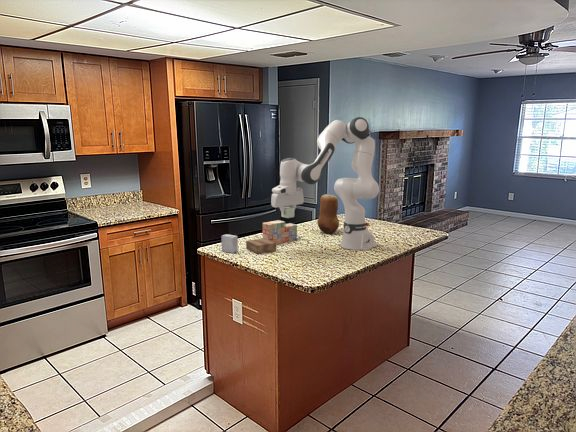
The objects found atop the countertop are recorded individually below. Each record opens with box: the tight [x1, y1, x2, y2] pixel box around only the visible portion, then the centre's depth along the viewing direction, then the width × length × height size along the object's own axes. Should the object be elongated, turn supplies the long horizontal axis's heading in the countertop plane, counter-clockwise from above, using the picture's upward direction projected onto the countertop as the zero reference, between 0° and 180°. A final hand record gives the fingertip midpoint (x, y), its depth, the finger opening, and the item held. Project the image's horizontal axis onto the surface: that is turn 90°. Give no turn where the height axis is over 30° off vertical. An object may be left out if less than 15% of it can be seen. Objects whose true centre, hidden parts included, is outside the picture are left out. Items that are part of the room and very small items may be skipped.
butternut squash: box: [317, 193, 340, 235], centre depth 270 cm, size 14×13×25 cm
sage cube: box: [280, 206, 295, 219], centre depth 228 cm, size 5×5×5 cm
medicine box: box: [220, 234, 239, 254], centre depth 227 cm, size 8×4×9 cm, turn 59°
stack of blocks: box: [261, 219, 298, 245], centre depth 248 cm, size 21×6×12 cm, turn 129°
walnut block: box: [245, 237, 277, 255], centre depth 230 cm, size 12×12×5 cm
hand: (287, 213), depth 228 cm, fingers closed on sage cube, 5 cm apart
